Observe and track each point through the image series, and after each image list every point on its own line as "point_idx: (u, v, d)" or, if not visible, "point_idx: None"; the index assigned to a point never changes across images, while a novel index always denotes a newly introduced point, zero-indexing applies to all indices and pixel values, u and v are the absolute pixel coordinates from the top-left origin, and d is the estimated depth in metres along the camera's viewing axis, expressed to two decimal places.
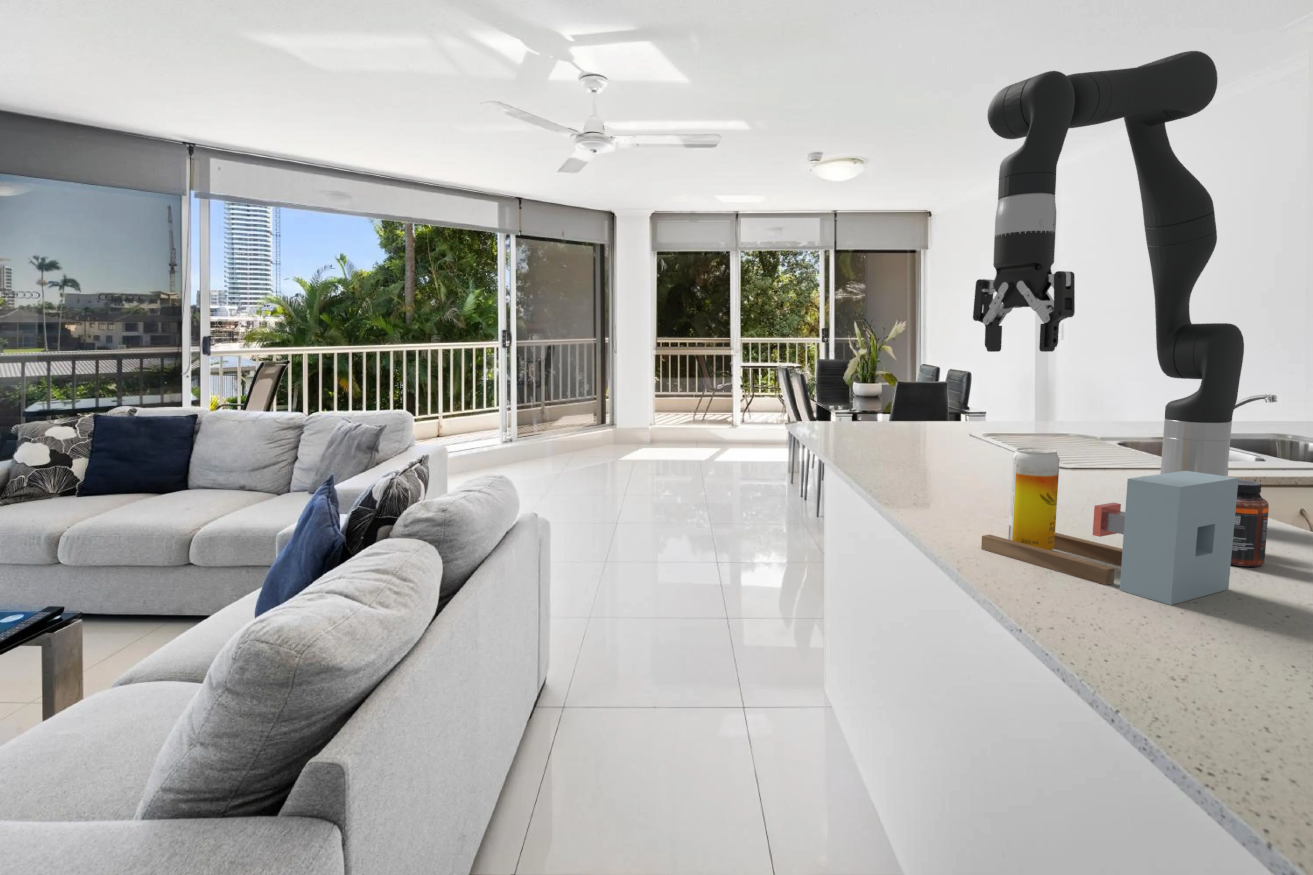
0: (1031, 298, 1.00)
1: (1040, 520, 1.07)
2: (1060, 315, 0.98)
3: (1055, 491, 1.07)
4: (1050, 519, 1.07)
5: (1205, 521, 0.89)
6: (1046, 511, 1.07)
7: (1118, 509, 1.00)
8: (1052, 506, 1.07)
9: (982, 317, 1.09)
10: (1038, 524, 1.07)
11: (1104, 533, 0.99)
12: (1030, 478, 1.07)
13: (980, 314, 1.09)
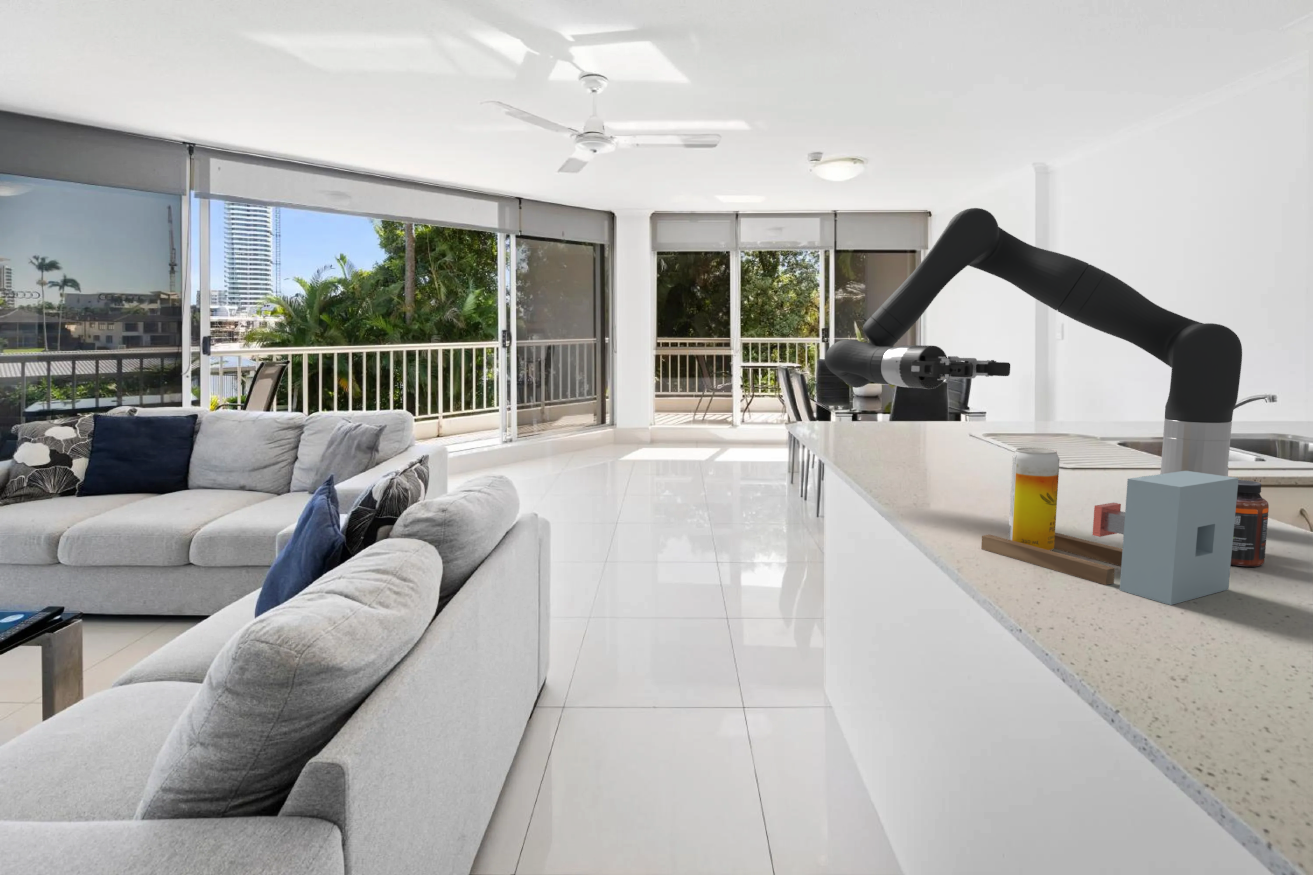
0: None
1: (1040, 520, 1.07)
2: (935, 377, 1.21)
3: (1055, 491, 1.07)
4: (1050, 519, 1.07)
5: (1205, 521, 0.89)
6: (1046, 511, 1.07)
7: (1118, 509, 1.00)
8: (1052, 506, 1.07)
9: None
10: (1038, 524, 1.07)
11: (1104, 533, 0.99)
12: (1030, 478, 1.07)
13: None
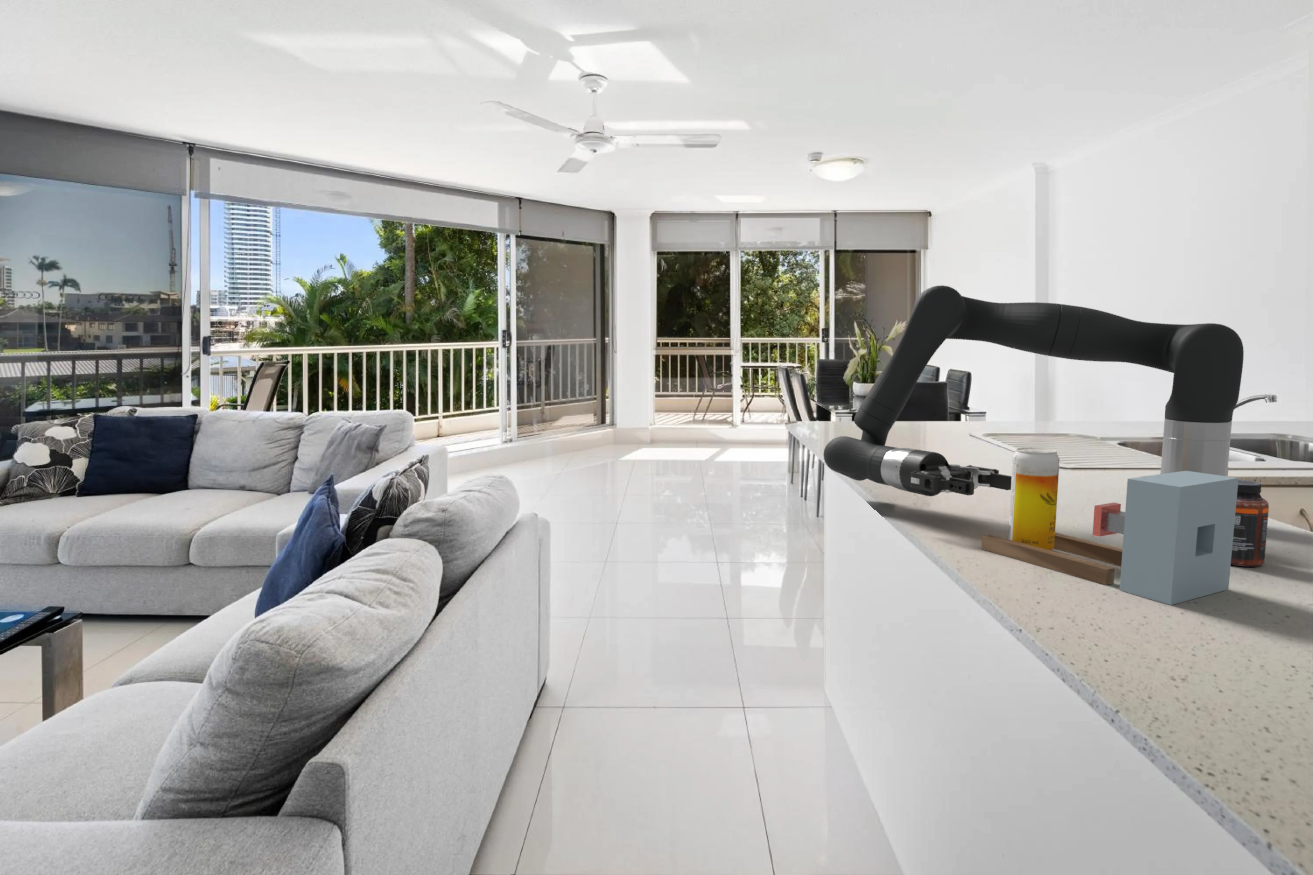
0: None
1: (1040, 520, 1.07)
2: (936, 492, 1.17)
3: (1055, 491, 1.07)
4: (1050, 519, 1.07)
5: (1205, 521, 0.89)
6: (1046, 511, 1.07)
7: (1118, 509, 1.00)
8: (1052, 506, 1.07)
9: None
10: (1038, 524, 1.07)
11: (1104, 533, 0.99)
12: (1030, 478, 1.07)
13: None
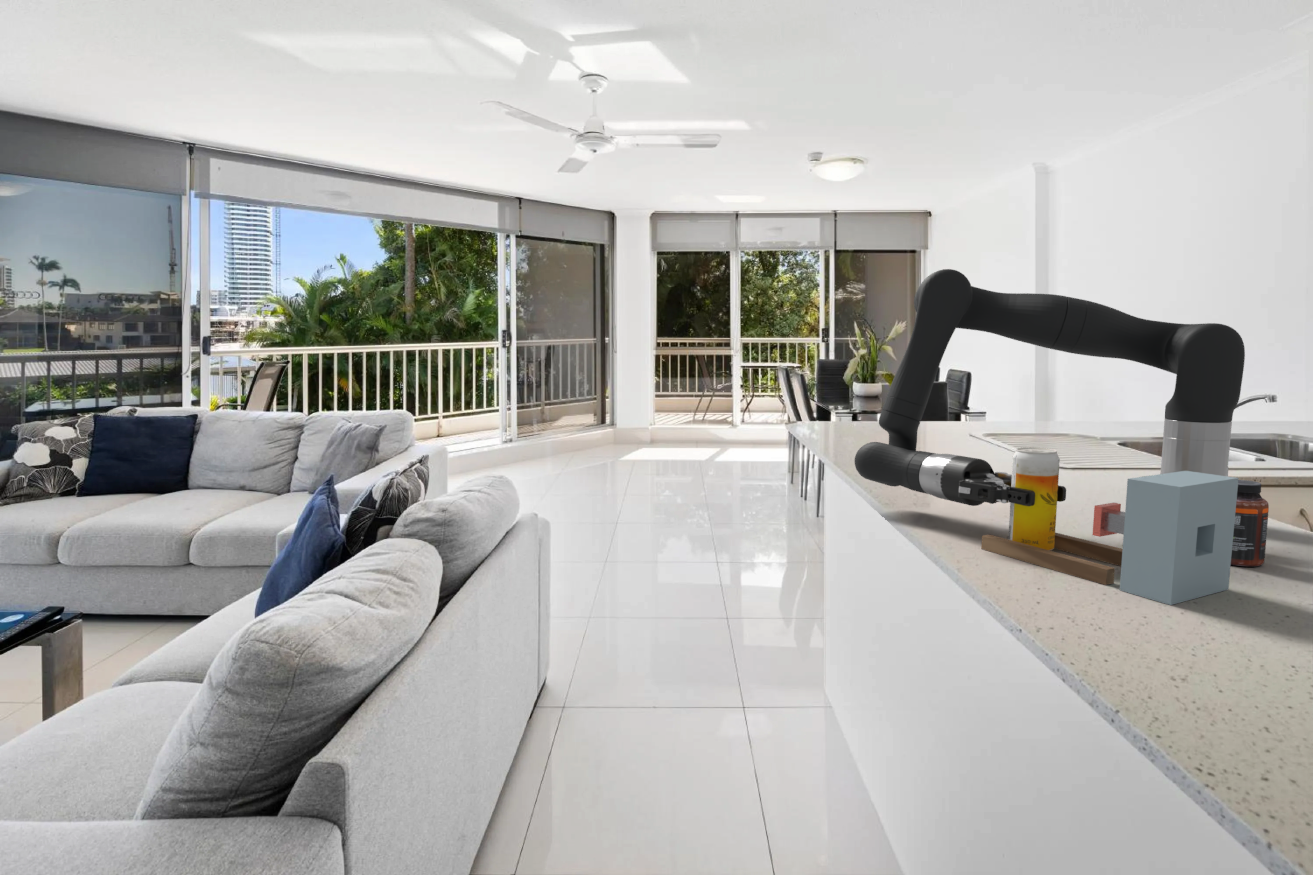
0: None
1: (1040, 520, 1.07)
2: (992, 502, 1.09)
3: (1055, 491, 1.07)
4: (1050, 519, 1.07)
5: (1205, 521, 0.89)
6: (1046, 511, 1.07)
7: (1118, 509, 1.00)
8: (1052, 506, 1.07)
9: None
10: (1039, 524, 1.07)
11: (1104, 533, 0.99)
12: (1031, 478, 1.07)
13: None
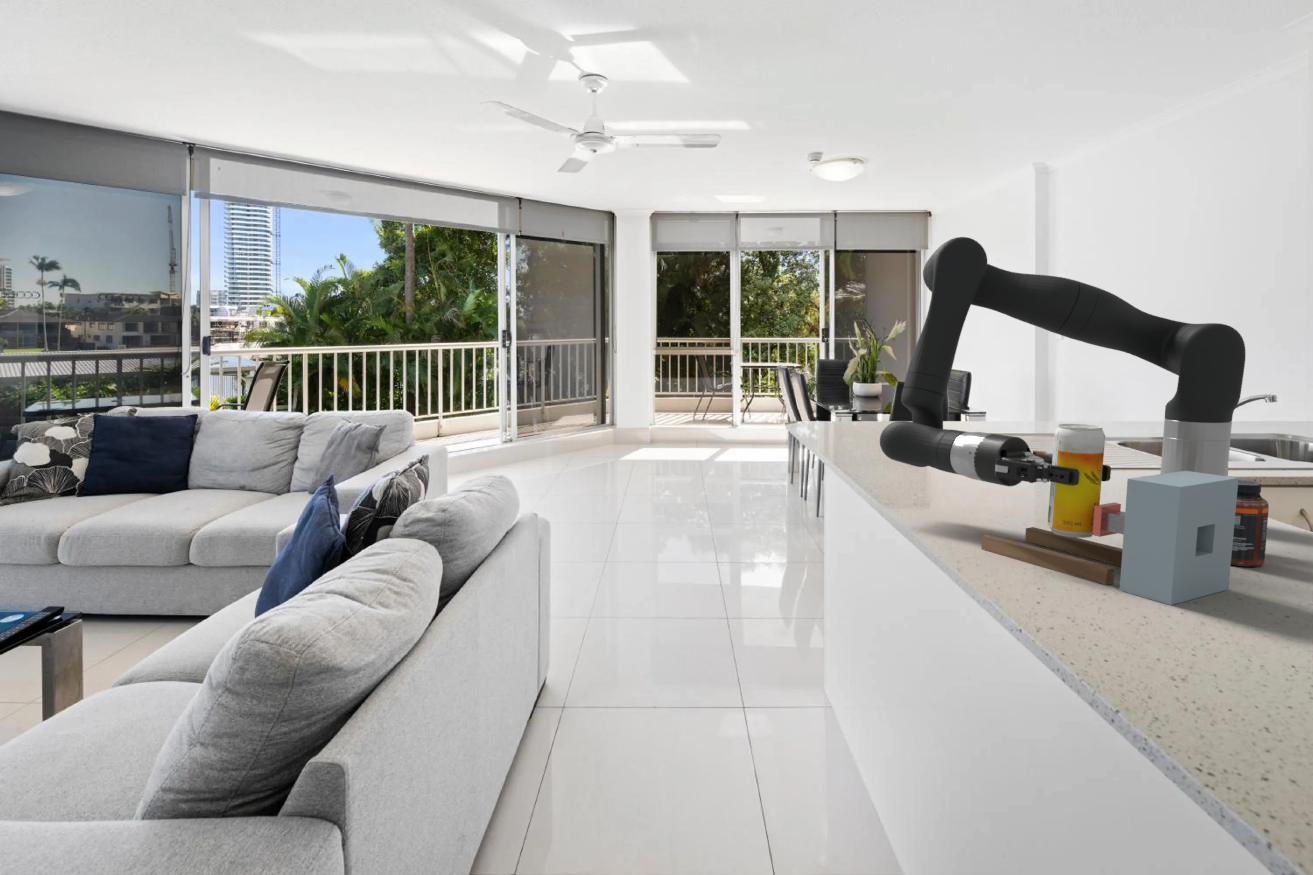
0: None
1: (1083, 500, 1.01)
2: (1032, 481, 1.03)
3: (1100, 470, 1.01)
4: (1094, 499, 1.01)
5: (1205, 521, 0.89)
6: (1090, 491, 1.01)
7: (1118, 509, 1.00)
8: (1096, 485, 1.01)
9: None
10: (1082, 505, 1.01)
11: (1104, 533, 0.99)
12: (1074, 456, 1.01)
13: None
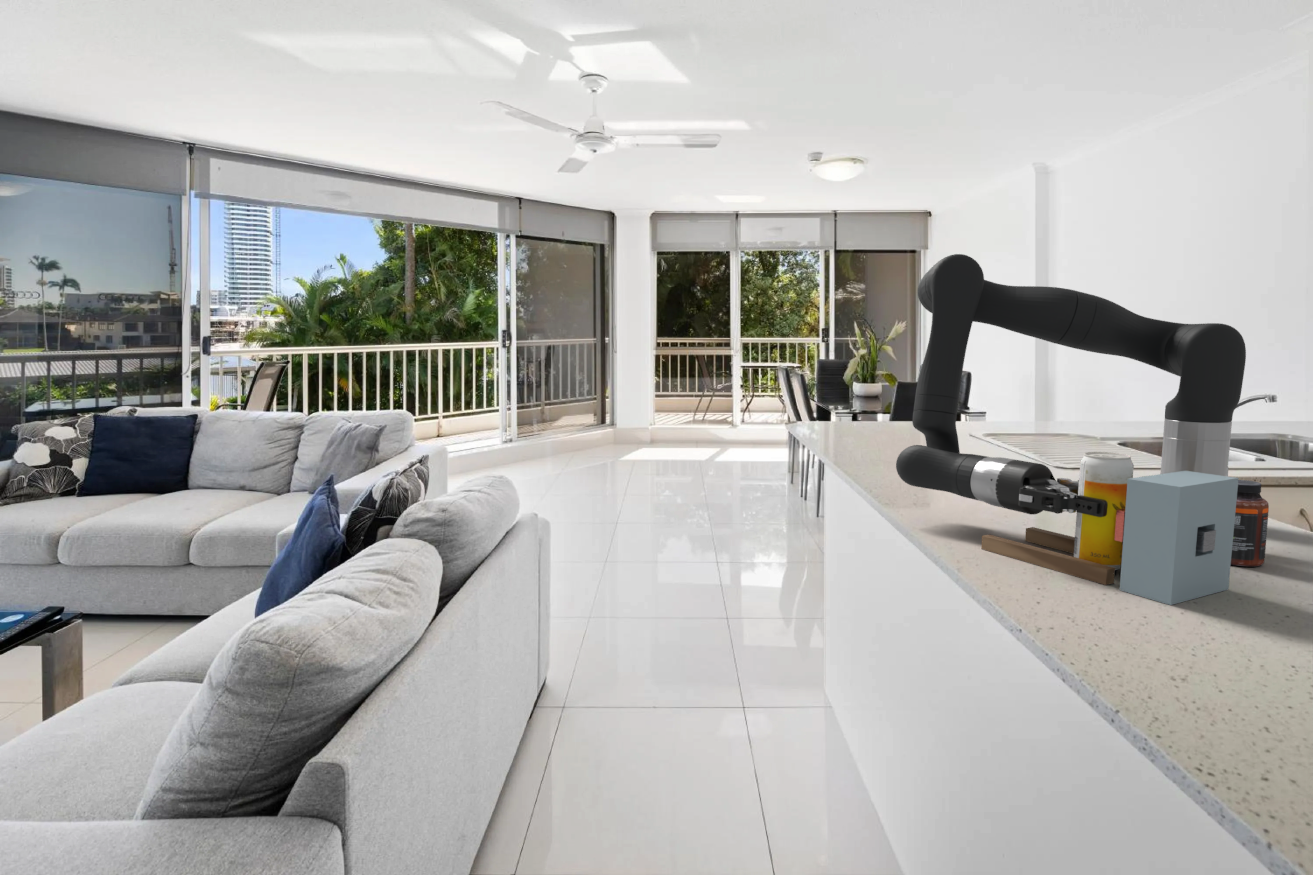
0: None
1: (1112, 532, 0.98)
2: (1058, 512, 1.00)
3: None
4: None
5: (1205, 521, 0.89)
6: None
7: None
8: None
9: None
10: (1110, 536, 0.98)
11: None
12: (1102, 486, 0.97)
13: None
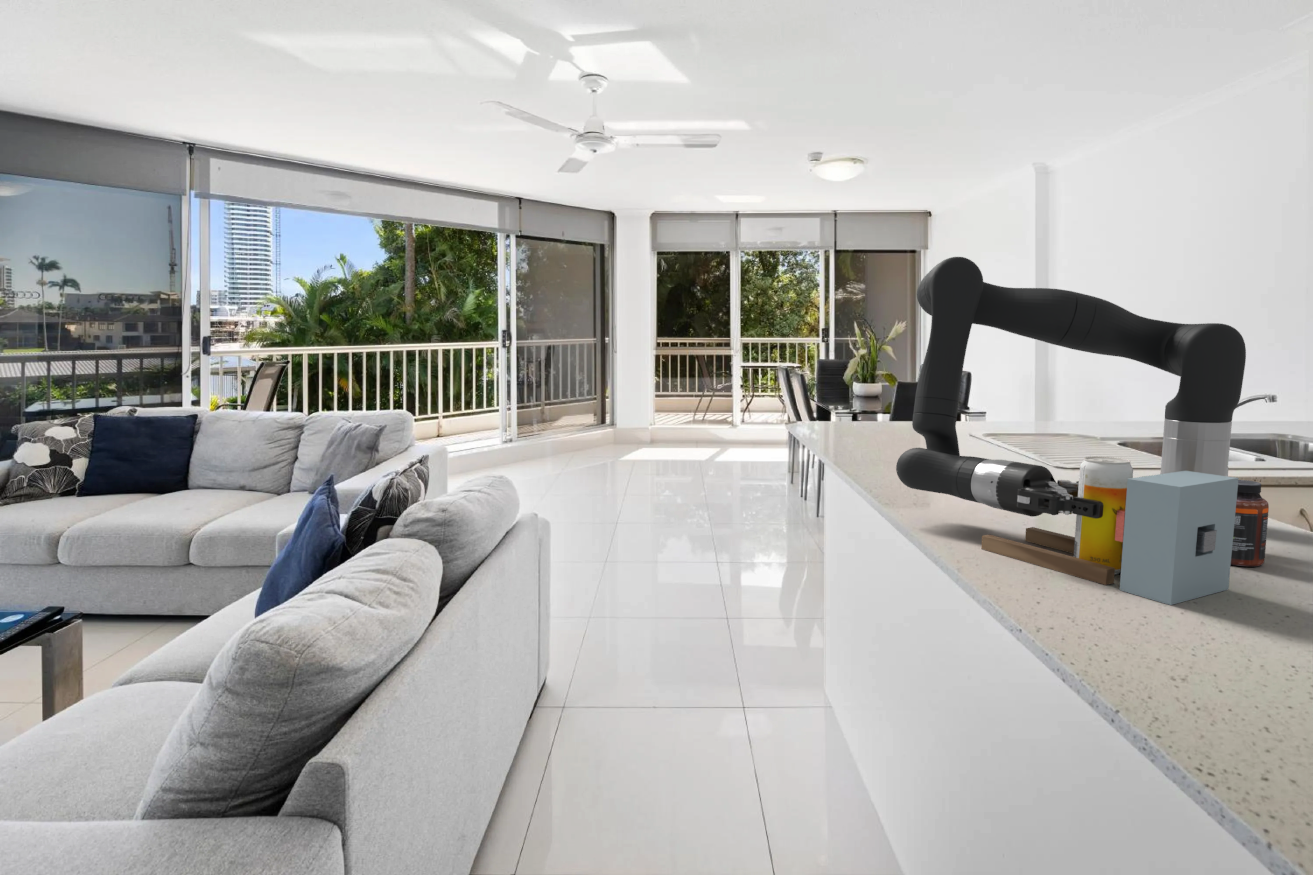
0: None
1: (1111, 536, 0.98)
2: (1054, 514, 1.00)
3: None
4: None
5: (1205, 521, 0.89)
6: None
7: None
8: None
9: None
10: (1110, 541, 0.98)
11: None
12: (1102, 490, 0.98)
13: None
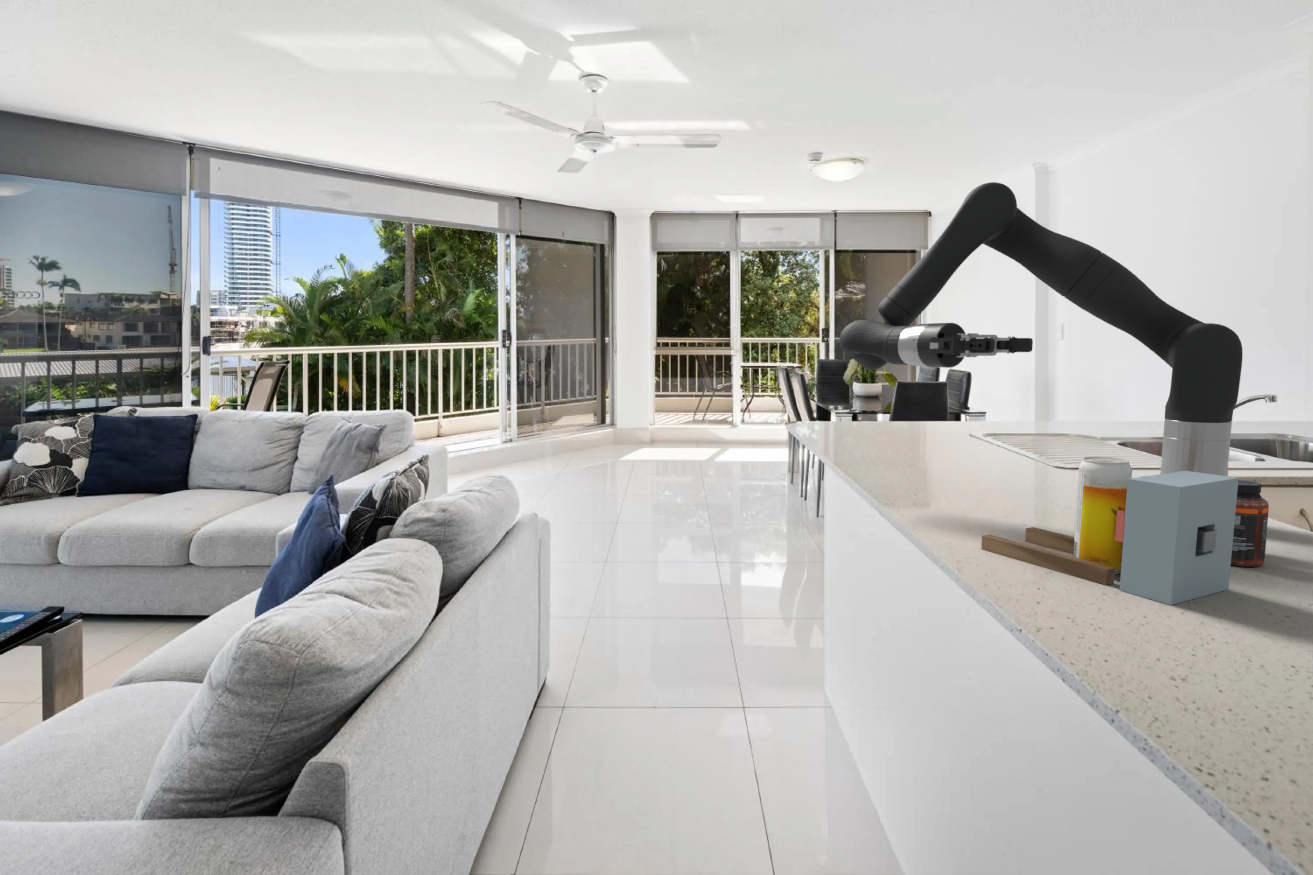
0: (960, 356, 1.21)
1: (1111, 536, 0.98)
2: (955, 353, 1.17)
3: None
4: None
5: (1205, 521, 0.89)
6: None
7: None
8: None
9: None
10: (1109, 541, 0.98)
11: None
12: (1101, 491, 0.98)
13: None
